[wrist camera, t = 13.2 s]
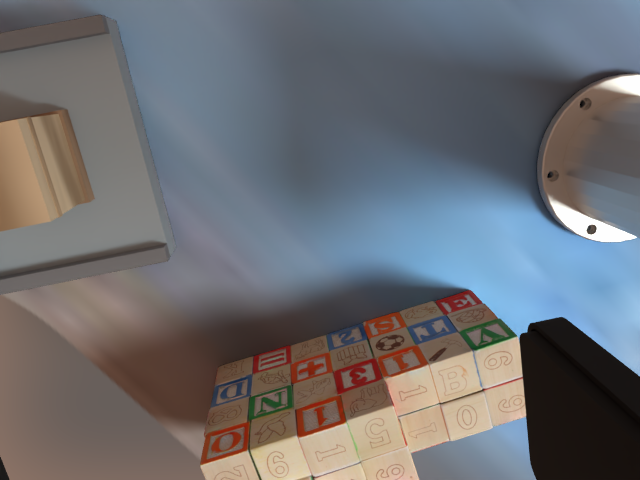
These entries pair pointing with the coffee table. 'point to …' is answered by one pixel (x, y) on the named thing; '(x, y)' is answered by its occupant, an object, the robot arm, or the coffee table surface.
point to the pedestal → (40, 170)
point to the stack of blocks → (365, 396)
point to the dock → (84, 156)
